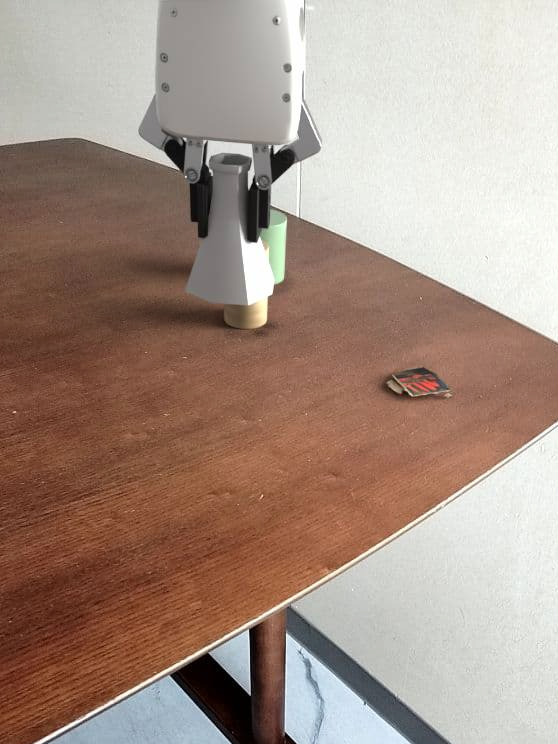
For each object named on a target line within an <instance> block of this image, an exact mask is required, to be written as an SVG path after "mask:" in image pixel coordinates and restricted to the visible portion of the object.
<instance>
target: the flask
mask: <svg viewBox="0 0 558 744" xmlns="http://www.w3.org/2000/svg"><path fill="white" fill-rule="evenodd" d="M252 164H253V157H250V156H247V155H244V154H242V153H232V152H220V153H216V154H213V155H210V157H209V160H208V167H209V170H211V173H212V176H213V192H212V199H211V205H210V212H209V216H208V236H205V238H201V241H200V244H199V246H198V247H199V248H198V251H197V252H196V256H195V259H194V262H193V265H192V268H191V271H190V274H189V277H188V280H187V284H186V286H185V289H184V290H185V291H184V292H185V293H188V294H190V295H192V296H195V297H197V298H198V299H202V300H204V301H206V302H209V303H211V304H221V305H224V304H237V305H250V304H252V303H254V302H257V301H259V300H261V299H263V298H265V297H267V296H268V297H270V296H272V295H273V293H274V292H273V291H274V286H275V285H274V277H273V273H272V270H271V267H270V264H269V262H268V259H267V256H266V253H265V250H264V247H263V245H262V242H261V238H260V237H259V240H258V242H257V243H251V242H250V241H249V240H248V192H249V189H250V188H249V171H250V170H251V167H252Z"/></svg>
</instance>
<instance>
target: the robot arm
mask: <svg viewBox="0 0 558 744" xmlns="http://www.w3.org/2000/svg"><path fill="white" fill-rule="evenodd" d="M305 22H306V21H305V9H304V0H158V7H157V22H156V39H155V40H156V42H155V70H154V71H155V72H154V73H155V76H154V77H155V80H154V81H155V82H154V83H155V84H154V87H155V88H154V89H155V90H154V91H155V93H154V94H153V97H152V99H151V102H149V103H150V104H149V106H148V108H147V110H146V112H145V114H144V116H143V119H142V120H141V123H140V125H139V126H138V130H137V131H138V135H139V136H140V138H141V139H143V140H144V141H145V142H147V143H148V144H150V145H152V146H153V147H155V148H156V149H158V150H160V151H162V152H164V154H165V155H166V156H167V158H168V159H169V160H170V161H171V162H172V163H173V164H174V166H176V167H177V169H178V170H179V171H180V172H181V173H182V174H183V178H184V180H185V181H186V182H187V183H188V184H189V214H190V222H191V223H197V237H198V238H199V239H202V238H205V236H208V216H209V212H210V205H211V199H212V192H213V175H212V171H211V172H210V168H209V165H208V156H209V147H210V146H209V145H210V142H222V143H223V142H225V143H233V144H234V143H235V144H245V145H251V149H252V162H253V168H254V169H253V171H254V175H253V176H252V181H251V184H250V186H249V188H248V189H249V192H248V240H249V241H250V242H251V243H257V242H258V240H259V237H260V234H261V232H262V228H264V229H268V228H269V225H270V209H271V210H272V208H271V205H272V201H271V199H272V185H273V184H274V183H275V182H276V181H277V180H278V179H280V178H281V177H282V176H283V175H284V174H285V173H286V172H287V171H288V170H289V169H290V168H292V166H293V165H295V164H297V163H300V162H302V161H304V160H307V159H309V158H311V157H313V156H315V155H317V154H318V153H320V151H321V149H322V146H323V138H322V136H321V133H320V131H319V129H318V126H317V125H316V122H315V119H314V118H313V116H312V113H311V111H310V109H309V106H308V104H307V102H306V100H305V99H306V98H305V97H306V26H305V24H306V23H305ZM296 136H298V137H297V139H295V138H296ZM294 139H295V140H294ZM293 140H294V141H293ZM275 146H282V147H280V148H279V149H278V151H276V149H275V148H276V147H275Z"/></svg>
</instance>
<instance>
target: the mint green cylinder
mask: <svg viewBox="0 0 558 744" xmlns="http://www.w3.org/2000/svg"><path fill="white" fill-rule="evenodd" d="M287 228H288V217H287V215H286V214H284V213H283V212H281V211H278V210H275V209H272V208H271V209H270V225H269V228H268V229H264V228H262V232H261V234H260V238H261V240H262V241H265V242H266V243H267V244H268V245H269V264H270V267H271V270H272V273H273V277H274V285H273V286H275V285H278V284H280V283H282V282H283V281H284V279H285V278H286V277H285V275H286V251H287V231H288V230H287Z"/></svg>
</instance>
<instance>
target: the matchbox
mask: <svg viewBox="0 0 558 744" xmlns="http://www.w3.org/2000/svg"><path fill="white" fill-rule="evenodd" d="M392 377H393V379H394V380H393V379H390V380H388V381H387V382H386V384H387V386H386V387H389V389H390V388H391V390H392V391H394V392H396V393H397V394H400V395H401V394H403V391H404V392H407V393H408V395H409V396H410V397H418V396H419V397H420V396H427V395H429V394H430V395H431V394H437V395H438V394H439V393H445V392H446V394H443V397H445V398H446V397H447V398H450V397H453V396H456V395H457V393H453V392H452V393H451V392H450V391H452V390H453V389H452V387H451V386H450V385H448V383H447V382H446V381H444V380H443V379H442V378H440V376H439V375H438V374H437V373H436V372H434V371H431V370H429V369H427V368H426V367H425V366H419V365H418V366H417V367H412V368H410V367H409V368H406V369H402V370H400V371H399V372H395V373H394V374H392Z"/></svg>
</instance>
